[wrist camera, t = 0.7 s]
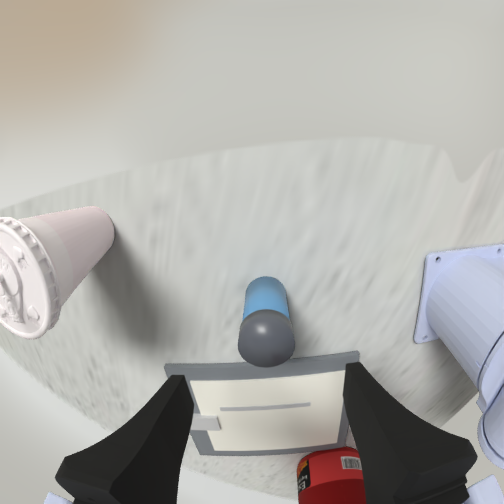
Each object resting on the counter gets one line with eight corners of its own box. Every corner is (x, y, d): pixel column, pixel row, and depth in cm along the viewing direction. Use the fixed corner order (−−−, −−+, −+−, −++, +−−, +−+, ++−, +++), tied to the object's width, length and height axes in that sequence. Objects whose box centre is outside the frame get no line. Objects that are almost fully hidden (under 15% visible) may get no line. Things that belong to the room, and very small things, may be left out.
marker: (285, 273, 20) (293, 320, 15) (288, 311, 21) (295, 365, 16) (241, 277, 21) (234, 325, 15) (247, 314, 21) (241, 369, 16)
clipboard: (357, 350, 22) (361, 359, 21) (343, 443, 27) (345, 450, 26) (149, 363, 24) (145, 371, 23) (188, 450, 28) (186, 458, 27)
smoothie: (122, 180, 19) (-51, 245, 5) (139, 269, 21) (22, 407, 7) (54, 195, 19) (-95, 257, 6) (72, 273, 21) (-45, 376, 8)
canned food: (290, 453, 28) (295, 536, 17) (361, 437, 27) (381, 519, 16) (301, 479, 30) (306, 548, 20) (361, 465, 29) (376, 534, 19)
